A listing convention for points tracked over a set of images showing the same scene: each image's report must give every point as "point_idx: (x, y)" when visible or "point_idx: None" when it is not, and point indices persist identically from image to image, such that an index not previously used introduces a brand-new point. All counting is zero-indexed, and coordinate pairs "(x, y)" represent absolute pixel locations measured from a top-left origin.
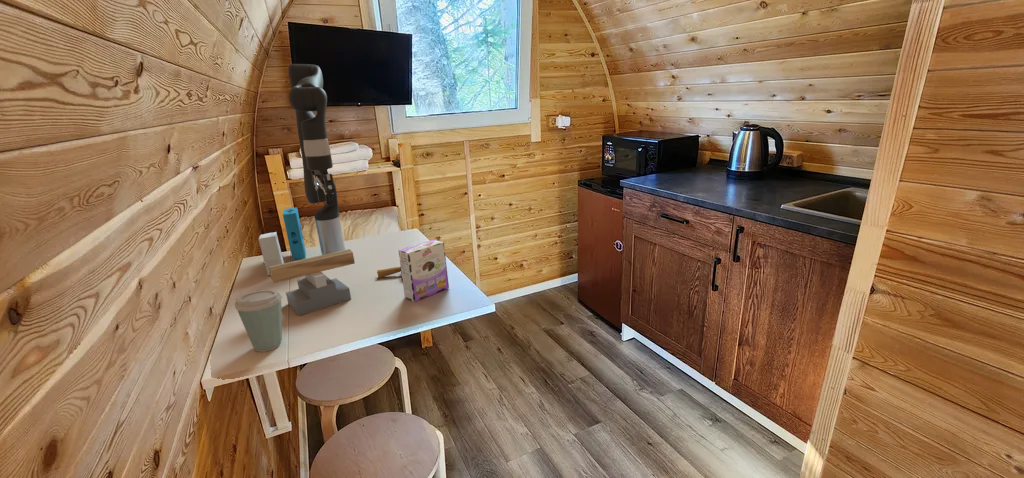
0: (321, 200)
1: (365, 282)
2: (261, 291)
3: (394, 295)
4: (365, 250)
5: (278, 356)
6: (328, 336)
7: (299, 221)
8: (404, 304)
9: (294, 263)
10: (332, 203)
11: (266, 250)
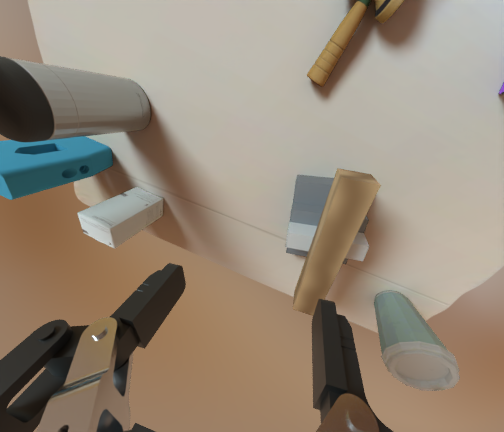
0: (179, 285)
1: (313, 121)
2: (401, 358)
3: (453, 108)
4: (112, 16)
5: (430, 306)
6: (456, 262)
7: (5, 147)
8: None
9: (318, 287)
10: (345, 325)
11: (133, 230)
